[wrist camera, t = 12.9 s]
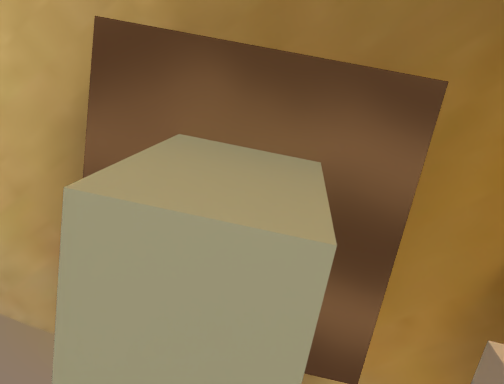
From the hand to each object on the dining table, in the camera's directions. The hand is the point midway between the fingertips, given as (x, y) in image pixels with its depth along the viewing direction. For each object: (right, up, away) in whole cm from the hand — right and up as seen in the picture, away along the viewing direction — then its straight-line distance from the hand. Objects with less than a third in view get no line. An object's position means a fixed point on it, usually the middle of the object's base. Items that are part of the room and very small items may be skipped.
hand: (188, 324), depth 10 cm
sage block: (+1, +2, +9) cm, 9 cm away
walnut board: (+1, +3, +13) cm, 14 cm away
